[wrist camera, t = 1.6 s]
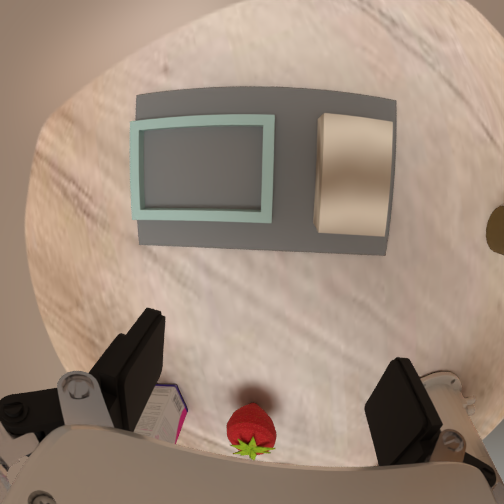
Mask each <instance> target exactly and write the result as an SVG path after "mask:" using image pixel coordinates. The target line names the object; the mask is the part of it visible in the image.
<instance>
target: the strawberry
mask: <svg viewBox="0 0 504 504" xmlns="http://www.w3.org/2000/svg"><path fill="white" fill-rule="evenodd" d="M227 437H228V439H229V441H230V442H231V443H232V445H230V446H233V447H235V448H237V449H238V450H240V451H238V452H235V453H233V454H241V455H249V456H250V457H249V458H251V459H252V460H255V457H256V455H260V454H264V453H271V452H268V451H269V450H273V449H275V448H273V447H274V444H275V441H276V430H275V427H274V424H273V421H272V419H271V418H270V417H269V416H268V415H267V413H266V412H265V411H264V410H263V409H262V408H260V407H259V406H258V405H257V404H256V403H250V404H248V405H245V406H243V407H241V408H239V409H238V410H236V411H235V412H234V413H233V415H232V416H231V418H230V419H229V421H228V423H227ZM241 455H240V456H241Z"/></svg>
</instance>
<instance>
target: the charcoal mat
mask: <svg viewBox="0 0 504 504" xmlns="http://www.w3.org/2000/svg"><path fill="white" fill-rule="evenodd" d="M324 113H330V114H340V115H349V116H357V117H364V118H371V119H378V120H384V121H390V122H393V139H392V164H391V180H390V192H389V203H388V213H387V222H386V230H385V237H383V236H367V235H350V234H333V233H318V231H317V229H316V227H315V225H314V223H313V217H314V201H315V182H316V160H317V126H318V118H319V117H320V116H321V115H322V114H324ZM226 114H263V115H275V129H274V168H273V200H272V223H252V222H223V221H184V220H137V223H138V237H139V245H158V246H181V247H204V248H227V249H249V250H272V251H294V252H315V253H337V254H358V255H380V256H385V255H386V249H387V242H388V235H389V227H390V218H391V209H392V199H393V188H394V175H395V157H396V100H391V99H386V98H380V97H374V96H368V95H361V94H354V93H347V92H338V91H329V90H319V89H306V88H290V87H213V88H196V89H184V90H173V91H164V92H156V93H148V94H141V95H137V97H136V120H135V121H139V120H147V119H157V118H168V117H181V116H198V115H226ZM262 155H263V127H261V126H219V127H191V128H174V129H160V130H149V131H144V197H145V208H210V209H248V210H261V193H262Z"/></svg>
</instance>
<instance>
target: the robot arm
mask: <svg viewBox="0 0 504 504" xmlns="http://www.w3.org/2000/svg"><path fill="white" fill-rule="evenodd" d="M164 332H165V316H162V315H161V311H158V310H154V309H151V308H146V309H145V310H144V312H143V313H142V314H141V316H140V317H139V318H138V320H137V321H136V322H135V324H134V325H133V326H132V327H131V329H130V330H129V331H128V333H127V334H126V335H125V334H122V333H120V334H119V335H118V336H117V337H116V338H115V339H114V340H113V342H112V343H111V344H110V346H109V347H108V348H107V349H106V351H105V352H104V353H103V355H102V356H101V357H100V359H99V360H98V361H97V363H96V364H95V365H94V366H93V368H92V369H91V370H90V372H89V373H87V372H82V371H72V372H68V373H66V374H65V375H63V376H62V377H61V378H60V379H59V381H58V383H57V388H53V389H47V390H40V391H34V392H27V393H19V394H12V395H8V396H6V397H4V398H2V399H1V400H0V504H504V484H503V481H502V479H501V477H500V475H499V474H498V472H497V470H496V468H495V465H494V463H493V461H492V459H491V458H490V456H489V454H488V452H487V450H486V448H485V446H484V444H483V442H482V440H481V438H480V436H479V434H478V432H477V430H476V428H475V427H474V425H473V423H472V421H471V419H470V417H469V416H470V415H473V414H474V413H475V406H474V405H473V404H474V403H475V401H476V398H475V396H471V397H467V398H464V397H463V395H462V394H461V391H462V384H461V382H460V380H459V378H458V377H457V376H456V375H455V374H454V373H451V372H437V373H433V374H430V375H427V376H425V377H423V378H421V379H420V377H419V376H418V374H417V372H416V370H415V368H414V366H413V365H412V363H411V361H410V359H408V358H400V357H397V358H395V359H394V360H392V361H391V362H390V363H389V365H388V367H387V369H386V371H385V372H384V374H383V376H382V378H381V379H380V381H379V383H378V384H377V386H376V388H375V389H374V391H373V393H372V394H371V396H370V398H369V399H368V401H367V402H366V404H365V414H366V417H367V421H368V425H369V428H370V432H371V436H372V440H373V444H374V448H375V452H376V456H377V460H378V464H379V466H373V467H322V466H304V465H291V464H281V463H272V462H264V461H256V460H250V459H243V458H237V457H231V456H226V455H221V454H216V453H211V452H207V451H202V450H198V449H194V448H189V447H185V446H181V445H177V444H173V443H170V442H166V441H162V440H159V439H156V438H152V437H148V436H145V435H141V434H137V433H134V430H135V428H136V425H137V423H138V421H139V419H140V417H141V415H142V413H143V410H144V408H145V406H146V404H147V402H148V400H149V398H150V396H151V394H152V391H153V389H154V387H155V385H156V383H157V381H158V379H159V377H160V375H161V372H162V366H163V347H164ZM24 456H28V457H29V458H28V459H27V461H26V462H25V464H24V465H23V467H22V468H21V470H20V472H19V473H18V475H17V476H16V478H15V480H14V482H13V483H12V485H10V484H9V481H8V478H7V472H8V470H9V468H10V467H11V466H12V465H13V464H15V463H18V462H19V458H22V457H24ZM53 499H54V500H53Z"/></svg>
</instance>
